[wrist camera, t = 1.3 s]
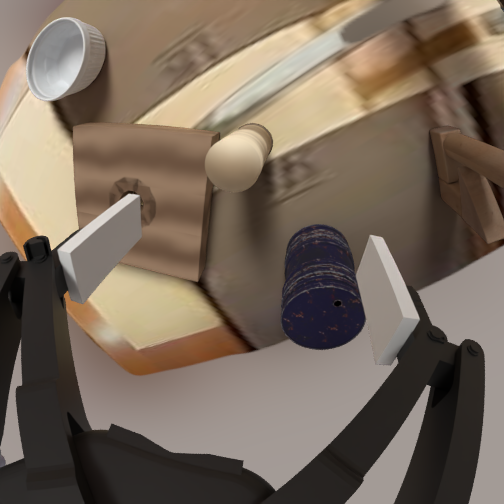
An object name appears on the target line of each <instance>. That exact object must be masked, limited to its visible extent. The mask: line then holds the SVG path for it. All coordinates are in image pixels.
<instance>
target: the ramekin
mask: <svg viewBox="0 0 504 504" xmlns="http://www.w3.org/2000/svg"><path fill="white" fill-rule="evenodd" d="M105 50H106V48H105V41H104V38H103V36H102V34H101V33H100V31H99V30H97V29H96V28H95V27H93V26H91V25H89V24H86V23H83V22H81V21H80V20H78V19H75V18H69V17H64V18H59V19H57V20H55V21H53V22H51V23H50V24H48V25H47V26H46V27H45V28H44V29H43V30H42V31H41V32H40V34H39V35H38V36H37V38H36V39H35V41H34V43H33V45H32V47H31V50H30V52H29V56H28V60H27V67H26V76H27V82H28V86H29V88H30V90H31V92H32V93H33V95H34V96H35V97H37V98H38V99H40V100H43V101H55V100H59V99H61V98H63V97H65V96H67V95H71V94H73V93H76V92H79V91H81V90H83V89H85V88H86V87H87V86H89V85H90V84H91V83H92V82H93V81H94V80H95V78H96V77H97V75H98V74H99V72H100V70H101V68H102V65H103V63H104V59H105Z"/></svg>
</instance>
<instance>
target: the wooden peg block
mask: <svg viewBox="0 0 504 504" xmlns="http://www.w3.org/2000/svg"><path fill="white" fill-rule="evenodd" d="M430 135H431V139H432V144H433V149H434V154H435V160H436V165H437V171H438V176H439V177H440V178H439V185H440V192H441V199H442V200H443V201H444V202H445V203H447V204H448V205H449V206H450V207H451V208H452V209H453V210H454V211H455V212H457V213H458V214H459V215H460V216H461V217H462V218H463V220H464V221H465V222H466V223H467V224H469V225H470V226H471V227H472V228H473V229H474V230H475V231H476V232H477V233H478V234H479V235H480V236H481V237H482V238H483V240H484V241H485V242H486V243H487V244H490V243H493V242H496V241H498V240H501V239H504V220H503V217H502V214H501V212H500V209H499V207H498V204H497V202H496V199H495V197H494V194H493V192H492V190H491V188H490V185H489V183H488V181H487V179H489V180H491V181H492V182H494V183H495V184H497V185H499V186H500V187H502V188H503V189H504V151H503V150H501V149H498V148H496V147H493V146H491V145H489V144H486V143H483V142H481V141H478V140H476V139H473V138H470V137H467V136H465V135H462V134H461V131H460V129H457V128H454V127H451V126H444V127H439V128H435V129H431V130H430ZM486 178H487V179H486Z"/></svg>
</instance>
